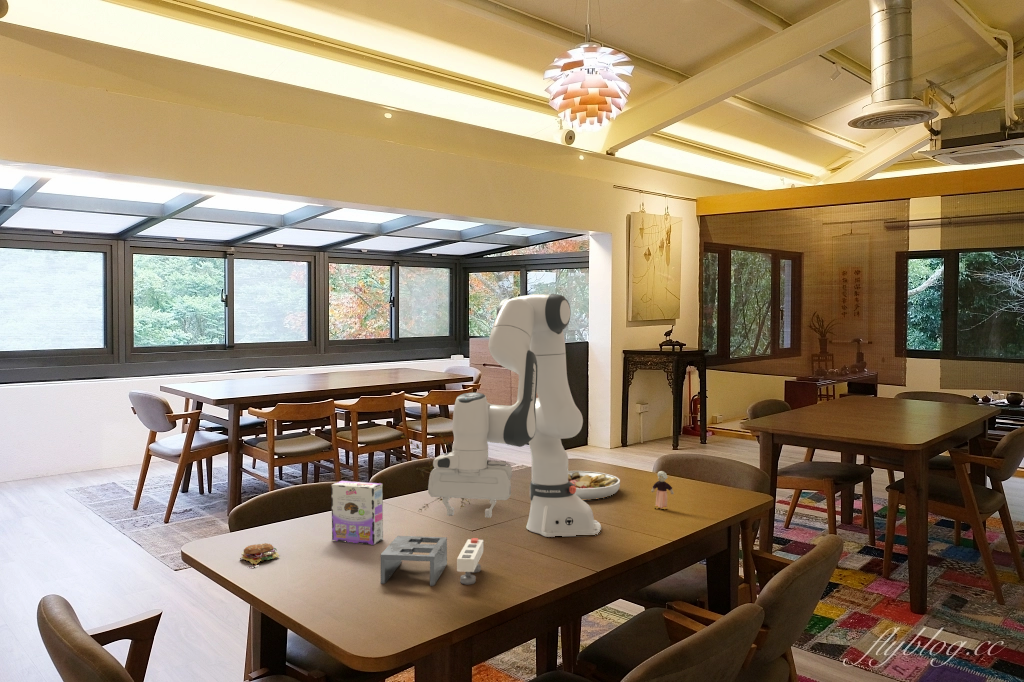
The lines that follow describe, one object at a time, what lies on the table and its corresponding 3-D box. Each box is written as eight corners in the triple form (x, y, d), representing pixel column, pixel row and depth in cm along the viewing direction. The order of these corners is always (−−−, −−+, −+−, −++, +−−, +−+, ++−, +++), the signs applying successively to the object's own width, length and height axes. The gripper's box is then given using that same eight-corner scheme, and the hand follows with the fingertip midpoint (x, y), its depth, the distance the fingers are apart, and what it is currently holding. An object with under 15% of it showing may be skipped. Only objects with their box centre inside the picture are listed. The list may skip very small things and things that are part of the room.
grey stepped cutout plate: (446, 564, 182) (446, 537, 182) (434, 585, 167) (434, 556, 167) (397, 562, 184) (397, 535, 184) (380, 583, 169) (380, 554, 169)
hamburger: (219, 564, 184) (219, 541, 184) (267, 550, 195) (267, 529, 195) (248, 575, 175) (248, 551, 175) (297, 561, 186) (297, 538, 186)
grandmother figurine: (649, 509, 236) (649, 471, 236) (651, 506, 239) (651, 469, 239) (672, 511, 233) (673, 473, 233) (674, 508, 237) (675, 470, 236)
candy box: (384, 539, 203) (383, 482, 203) (373, 546, 198) (373, 487, 197) (342, 535, 208) (341, 479, 207) (330, 541, 202) (330, 483, 202)
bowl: (565, 480, 281) (565, 460, 281) (634, 490, 264) (634, 469, 263) (521, 495, 257) (521, 473, 257) (594, 507, 239) (594, 484, 239)
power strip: (483, 565, 181) (483, 537, 181) (473, 587, 166) (473, 556, 166) (468, 565, 182) (467, 537, 182) (457, 586, 167) (456, 556, 167)
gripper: (513, 459, 175) (512, 514, 175) (432, 456, 178) (431, 510, 178) (510, 463, 169) (509, 521, 169) (426, 460, 171) (426, 517, 171)
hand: (469, 516), depth 173 cm, fingers open, 8 cm apart
